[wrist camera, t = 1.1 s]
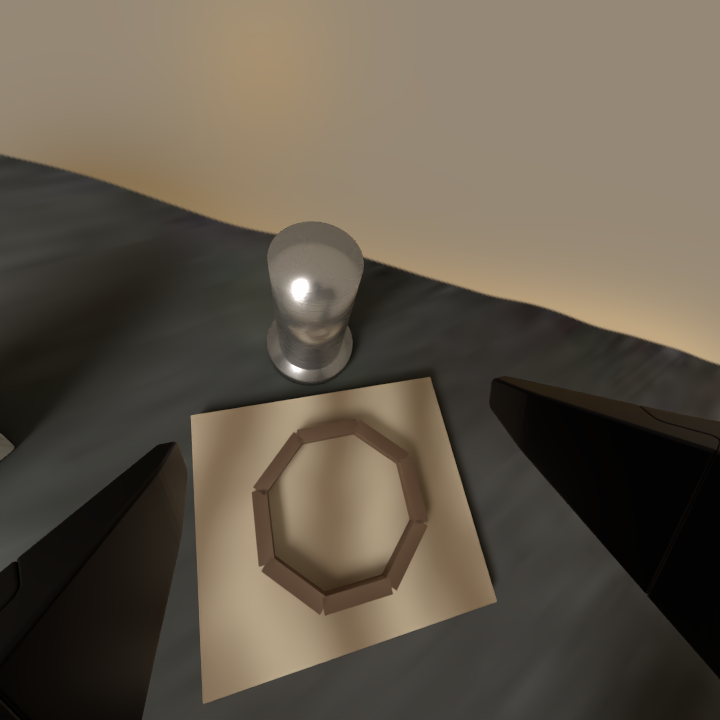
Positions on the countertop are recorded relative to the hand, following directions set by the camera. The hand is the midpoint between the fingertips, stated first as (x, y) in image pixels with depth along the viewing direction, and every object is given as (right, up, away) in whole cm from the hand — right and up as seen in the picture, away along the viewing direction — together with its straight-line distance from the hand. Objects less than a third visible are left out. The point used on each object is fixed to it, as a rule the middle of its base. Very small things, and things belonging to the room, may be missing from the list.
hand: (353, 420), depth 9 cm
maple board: (-1, -7, +11) cm, 14 cm away
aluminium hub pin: (-3, +3, +15) cm, 16 cm away
